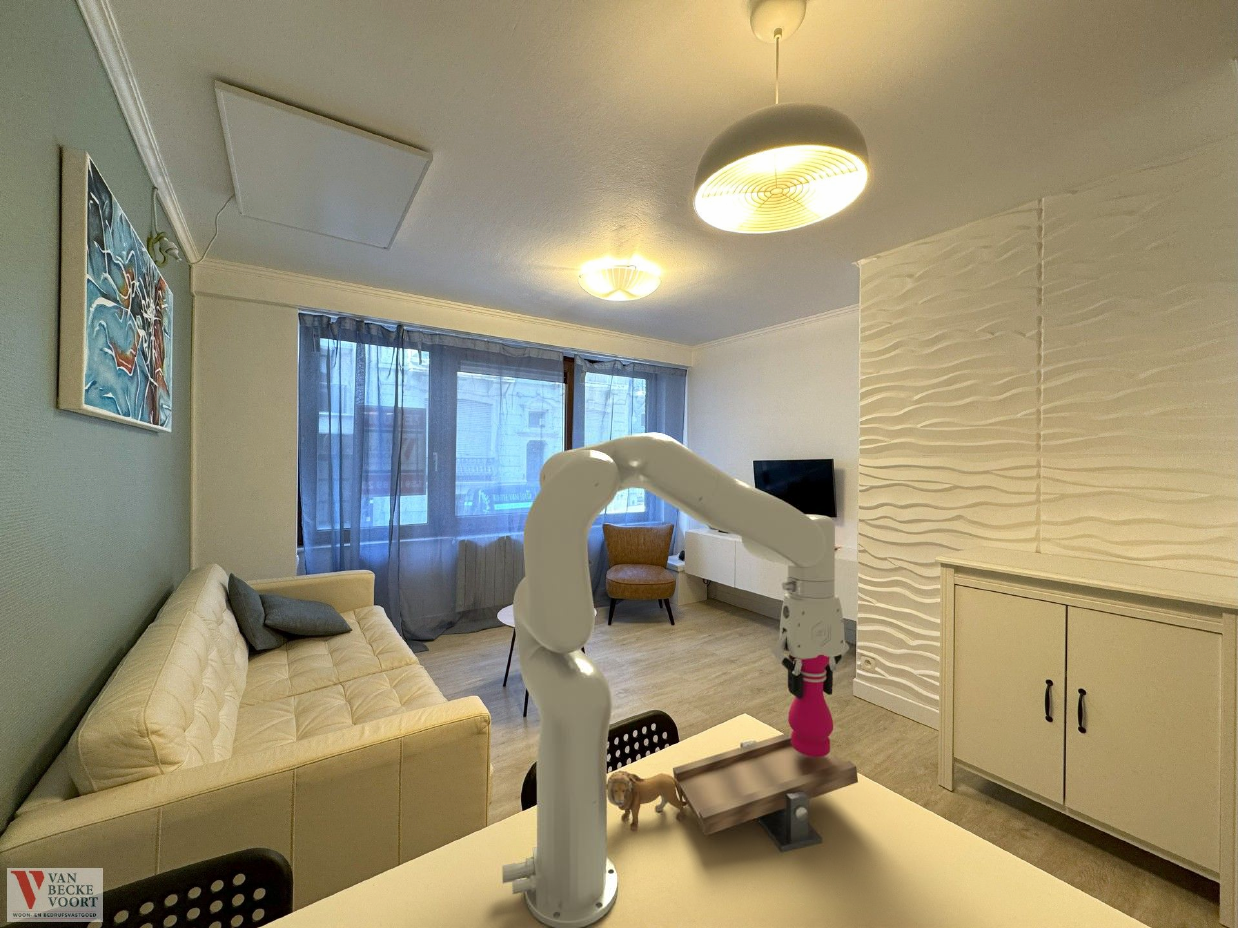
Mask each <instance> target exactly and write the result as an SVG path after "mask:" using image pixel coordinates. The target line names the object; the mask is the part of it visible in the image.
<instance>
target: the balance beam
mask: <svg viewBox="0 0 1238 928" xmlns="http://www.w3.org/2000/svg"><path fill="white" fill-rule="evenodd" d="M791 733H792V731H788V732H786V733H783V734H780V735H779V734H778V735H776V736H773V737H769V738H767V739H763V740H760V741H756V743H753V744H750V745H746V746H743V747H738V748H734V749H731V750H728V751H727V750H726V751H724V752H721V753H718V754H714V755H710V756H707V757H705V758H702V759H698V760H695V761H691V762H688V763H685V764H681V765H678V766H674V767H672V771H673V772H672V773H673V777H674V778H675V779H676V780H677V782H678V783H679V785H680V788H681V793H682V798H683V799H684V800H683V801H685V802H686V803H687V805H686V806H687V807H688V808H689V810H690V812H691V813H692V815H693V817H694V819H695V820H696V822H697V824H698V825H699V827H700V829H701V830H702V832H703V833H704V836H709V835H711V834H715V833H717V832H720V831H723V830H725V829H729V828H732V827H734V826H738V825H740V824H742V823H746V822H748V821H751V820H753V819H756V818H757V817H760V816H763V815H766V814H769V813H772V812H774V811H777V810H780V809H783V808H786V807H787V794H789V793H795V792H800V791H804V792H805V793H806V794H807V795H808V801H809V800H811V799H815V798H817V797H820V796H822V795H825V794H828V793H831V792H834V791H838V790H840V789H842V788H845V787H848V786H852V785H855V784H857V783H859V781H858V780H859V779H858V771H857V770H858V768H857V766H856V764H854V763H853V762H852V761H851V760H847V761H845V762H844V761H843V760H842V759H840V758H839V756H837V755H836V754H835V753H834V752H832V750H830V752H829V753H828V754H827V755H826V756H823V757H811V756H807V755H804V754H801V753H799V752H798V751H796V750H795V749H794V748H793V746H792V744H791Z"/></svg>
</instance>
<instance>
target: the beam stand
mask: <svg viewBox="0 0 1238 928" xmlns="http://www.w3.org/2000/svg"><path fill="white" fill-rule="evenodd" d="M756 742H757V741H756V740H750V741H745V742H744V741H743V742H740V747H743V746H746V745H750V744H753V743H756ZM740 747H739V748H740ZM755 819H756V820H757V821H758V823H759V824H760V825H761V827H762V828H763V829H764V831H765V832H766V833H767V834H768V836H769V837H770V838H771V840H772V841H773V843H775V845H776V846H777V847H778V849H779V850H780V852H787V851H790V850H795V849H799V848H805V847H809V846H814V845H817V844H821V843H823V837H822V836H821V835H820V834H819V832H818V831H817V830H816V829H815V828H814V827H813V826H812V824H810V822H809V800H808V795H807V794H806V793H805V792H804V791H800V792H795V793H789V794H787V807H786V808H783V809H780V810H777V811H774V812H772V813H769V814H766V815H763V816H760V817H757V818H755Z"/></svg>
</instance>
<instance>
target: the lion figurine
mask: <svg viewBox="0 0 1238 928" xmlns="http://www.w3.org/2000/svg"><path fill="white" fill-rule="evenodd" d="M659 797H660V798H661V801H660V804H656V805H655V807H654V809H655V811H656V812H660V811H661V812H662V810H664V808H665V807H666V805H667V804H669V805H670V806H672V807H674V808H676V809H678V812H676V815H675V818H676V819H678V820H680V821H681V820H683V819H684V817H685V809H684V807H686V806H688V805H687V803H686V801H685V800H683V799H684V798H683V796H682V793H681V788H680V785H679V783H678V782H677V780H676V779H675V778H674V776H672V775H670V774H666V773H662V772H661V773H658V774H655V775H654V776H651V777H647V778H646V777H645V778H641V777H639V776H638V774H636V773H630V772H628V771H622V770H619V771H615V772H613V773H612V774H611V775H610V776H609V777H608V778H607V801H608V802H609V803H610V804H612V805H614V806H615V807H618V809H620V811H624V813H622V815H621V820H622V821H628V820H629V818H630V815H631V819H632V820H631V823H630V824H629V828H630V829H629V830H631V831H636V830H638V827H639V812H640V809H641V806H642V805H645V804H650V803H652V802H654V801H656V800H657V799H658V798H659Z"/></svg>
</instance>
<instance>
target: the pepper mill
mask: <svg viewBox="0 0 1238 928" xmlns="http://www.w3.org/2000/svg"><path fill="white" fill-rule="evenodd" d="M793 659H794V661H795V658H794V657H793ZM801 661H802V666H801V670H800V674H801V675H802V676H803V697H802V699H798V698H797V697H795V696H794V699H793V701H792V703H791V705H790V708H789V711H788V716H787V717H788V718H787V721H788V724H789V726H790V728H791V730H792V731H791V732H792V733H791V744H792V746H793V748H794V749H795V750H796V751H798V752H799V753H801V754H804V755H807V756H811V757H823V756H826V755H827V754H828V753H829V752H830V751H831V740H830V737H829V736H830V735H831V734H832V733H833V730H834V720H833V717H832V714H831V711H830V709H829V706H828V704H827V702H826V700H825V696H824V692H823V681H824V680H826V670H825V669H824V668H825V667H826V666H827V665H828V663H829V657H826V656H824V655H823V654H822V655H818V656H817V657H816V658H812V659H806V660H801Z"/></svg>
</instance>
